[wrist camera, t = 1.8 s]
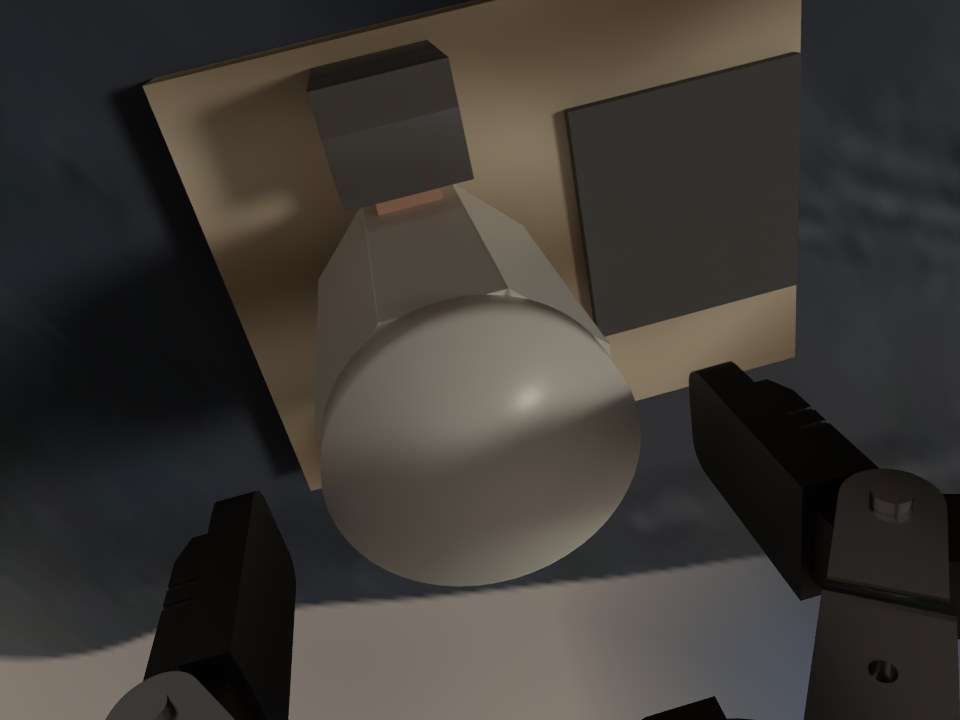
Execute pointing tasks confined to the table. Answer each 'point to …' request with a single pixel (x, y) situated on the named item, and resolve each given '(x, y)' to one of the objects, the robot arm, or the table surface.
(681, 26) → the bulb mounting plate
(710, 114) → the mat
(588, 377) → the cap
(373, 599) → the table surface
